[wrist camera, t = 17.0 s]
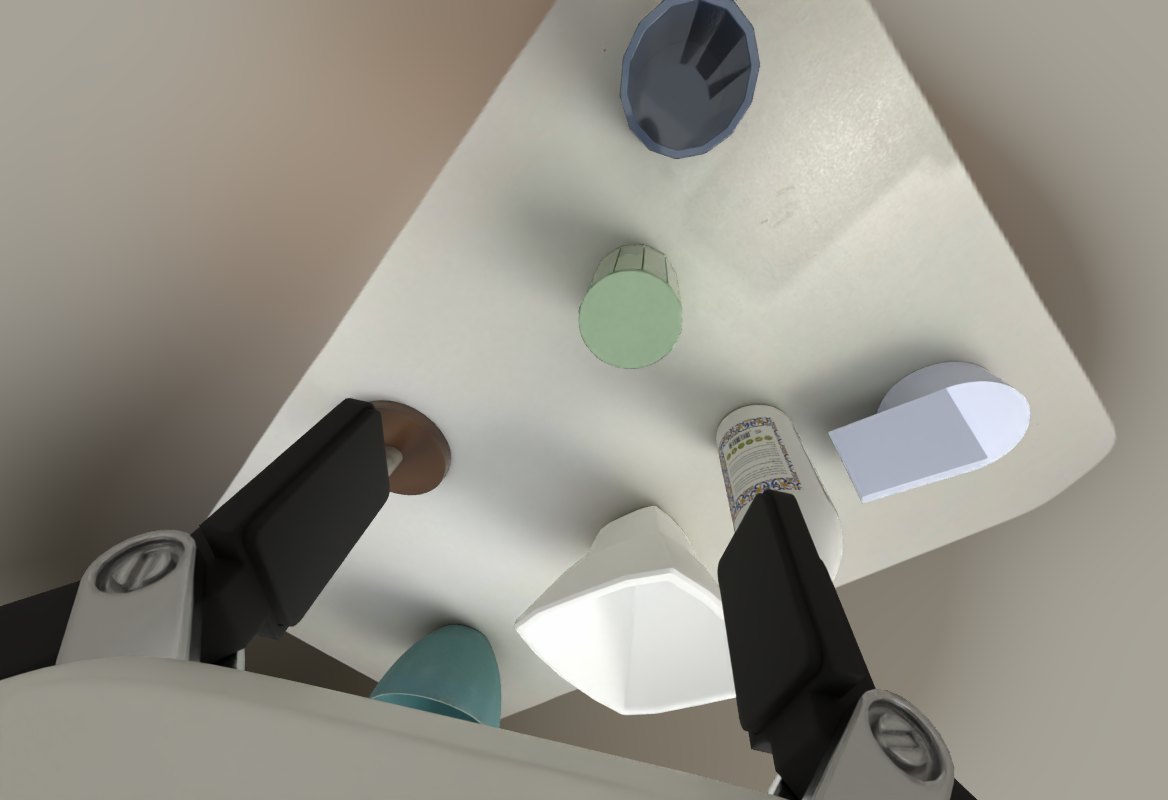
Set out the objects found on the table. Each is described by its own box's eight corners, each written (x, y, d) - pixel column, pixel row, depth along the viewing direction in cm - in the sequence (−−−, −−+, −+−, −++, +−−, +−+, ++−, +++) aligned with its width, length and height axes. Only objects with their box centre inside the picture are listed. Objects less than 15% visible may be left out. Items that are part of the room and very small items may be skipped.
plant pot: (394, 638, 70) (348, 724, 59) (432, 587, 61) (386, 678, 50) (490, 682, 73) (463, 772, 63) (540, 640, 64) (518, 736, 53)
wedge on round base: (848, 479, 41) (1009, 426, 36) (878, 532, 36) (1075, 479, 31) (814, 410, 38) (987, 342, 33) (843, 457, 32) (1056, 383, 27)
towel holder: (327, 429, 48) (252, 495, 39) (393, 381, 43) (326, 443, 34) (403, 499, 52) (352, 573, 43) (472, 462, 47) (430, 536, 38)
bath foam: (700, 443, 42) (732, 649, 25) (743, 389, 38) (815, 587, 21) (761, 472, 42) (833, 690, 25) (808, 422, 39) (929, 637, 22)
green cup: (577, 276, 35) (558, 307, 28) (648, 226, 32) (647, 248, 25) (621, 341, 37) (614, 385, 30) (691, 300, 35) (701, 338, 28)
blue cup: (610, 86, 28) (594, 64, 20) (700, 6, 25) (720, -53, 18) (659, 175, 30) (661, 185, 23) (747, 110, 28) (782, 97, 20)
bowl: (532, 512, 50) (494, 626, 38) (673, 440, 42) (681, 556, 30) (625, 601, 56) (617, 723, 44) (764, 552, 48) (800, 685, 36)
